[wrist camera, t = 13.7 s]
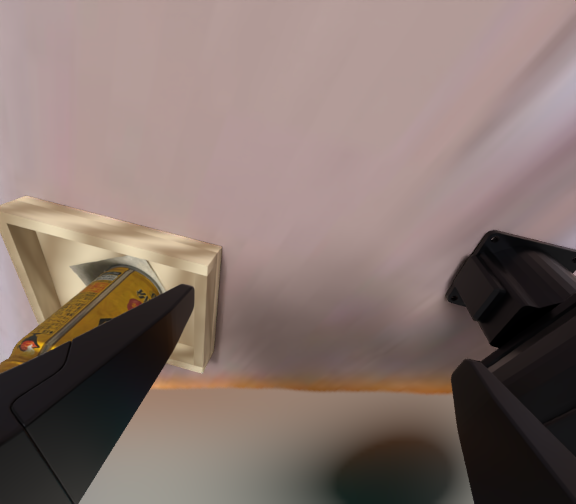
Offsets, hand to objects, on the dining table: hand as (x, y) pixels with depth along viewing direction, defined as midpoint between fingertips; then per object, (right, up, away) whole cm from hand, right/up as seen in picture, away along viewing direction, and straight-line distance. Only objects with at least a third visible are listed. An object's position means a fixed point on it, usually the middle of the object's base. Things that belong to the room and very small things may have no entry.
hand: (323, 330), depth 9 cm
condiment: (-17, -1, +19) cm, 25 cm away
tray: (-17, 0, +19) cm, 25 cm away
